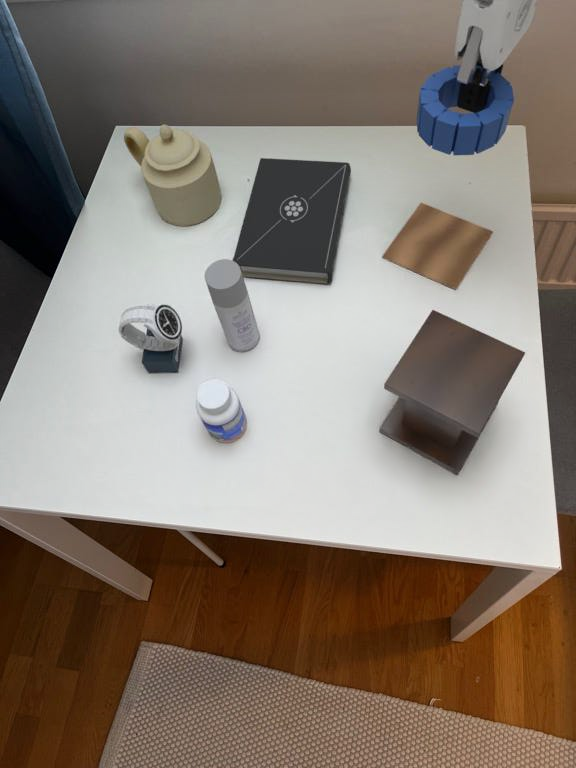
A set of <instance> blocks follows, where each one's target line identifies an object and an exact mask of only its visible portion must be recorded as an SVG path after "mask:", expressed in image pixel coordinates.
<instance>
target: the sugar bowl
mask: <svg viewBox="0 0 576 768" xmlns="http://www.w3.org/2000/svg"><path fill="white" fill-rule="evenodd" d="M123 141H124V144H125V146H126V148H127V150H128V152H129V154H130V155H131V156H132V158H133V159H134V160H135V161H136V163H137V164H138V165H139V166H140V172H141V175H142V177H143V180H144V182H145V185H146V188H147V190H148V192H149V195H150V197H151V199H152V202H153V203H154V206H155V208H156V210H157V212H158V214H159V216H160V217H161V218H162V220H164V221H165V222H167V223H169V224H170V225H174V226H178V227H190V226H196V225H198V224H201V223H203V222H205V221H207V220H208V219H210V217H212V216H213V215H215V214H216V212H217V211H218V210H219V208H220V206H221V203H222V191H221V186H220V182H219V178H218V174H217V169H216V166H215V163H214V159H213V155H212V152H211V150H210V148H209V147H208V145H207V144H206V143H205V142H203V141H202V140H201V139H198V137H197V136H196V135H195V134H194V133H192V132H190V131H187V130H183V129H172V128H171V127H170V126H169V125H167V124H161V126H160V127H159V134H157V135H156V136H155V137H153V138H151V140H150V139H149V138H148V136H147V135H146V134H145V132H143V131H142V130H141V129H140V128H138V127H136V126H131V127H128V128H127V129H126V130H125V132H124V134H123Z"/></svg>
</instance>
